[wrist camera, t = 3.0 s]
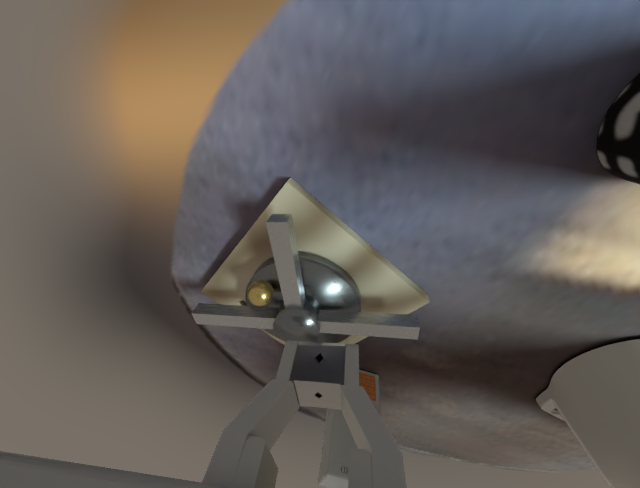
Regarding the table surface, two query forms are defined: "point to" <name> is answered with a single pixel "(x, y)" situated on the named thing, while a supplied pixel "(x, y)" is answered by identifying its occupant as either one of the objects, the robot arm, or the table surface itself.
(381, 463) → the robot arm
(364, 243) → the beige base plate
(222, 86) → the table surface
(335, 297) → the capstan
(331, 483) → the skincare box
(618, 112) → the spotted tube
